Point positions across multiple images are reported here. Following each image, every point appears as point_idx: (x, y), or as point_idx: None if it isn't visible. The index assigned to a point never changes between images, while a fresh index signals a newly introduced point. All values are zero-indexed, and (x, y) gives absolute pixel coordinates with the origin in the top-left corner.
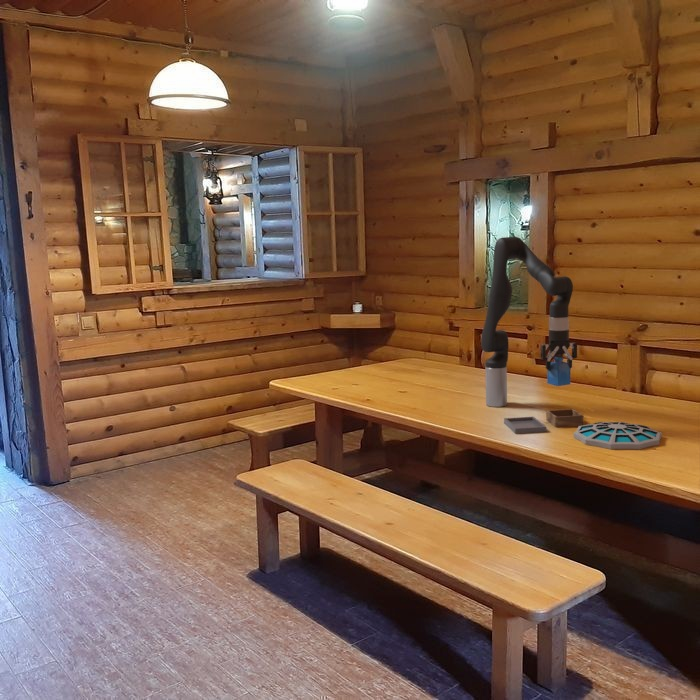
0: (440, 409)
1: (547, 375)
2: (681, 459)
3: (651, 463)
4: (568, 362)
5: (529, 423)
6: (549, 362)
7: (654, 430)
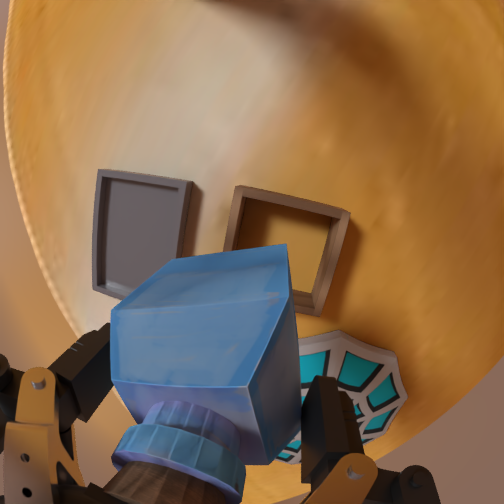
0: (66, 11)
1: (146, 282)
2: (308, 484)
3: (259, 483)
4: (307, 453)
5: (156, 225)
6: (80, 411)
7: (384, 427)
